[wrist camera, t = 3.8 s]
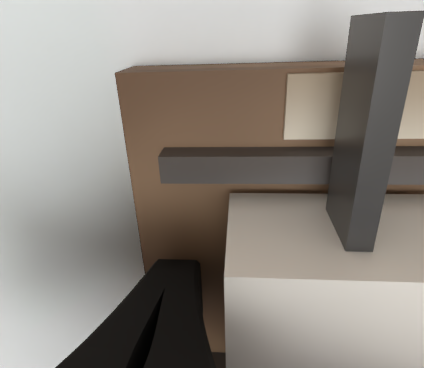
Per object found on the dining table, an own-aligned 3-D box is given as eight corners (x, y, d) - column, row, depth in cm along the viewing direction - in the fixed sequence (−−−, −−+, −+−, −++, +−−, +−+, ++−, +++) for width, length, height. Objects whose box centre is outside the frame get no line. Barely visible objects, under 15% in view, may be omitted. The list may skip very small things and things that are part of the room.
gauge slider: (451, 362, 11) (530, 488, 8) (231, 351, 11) (228, 465, 8) (597, 7, 6) (899, -10, 3) (227, 21, 7) (217, 16, 4)
